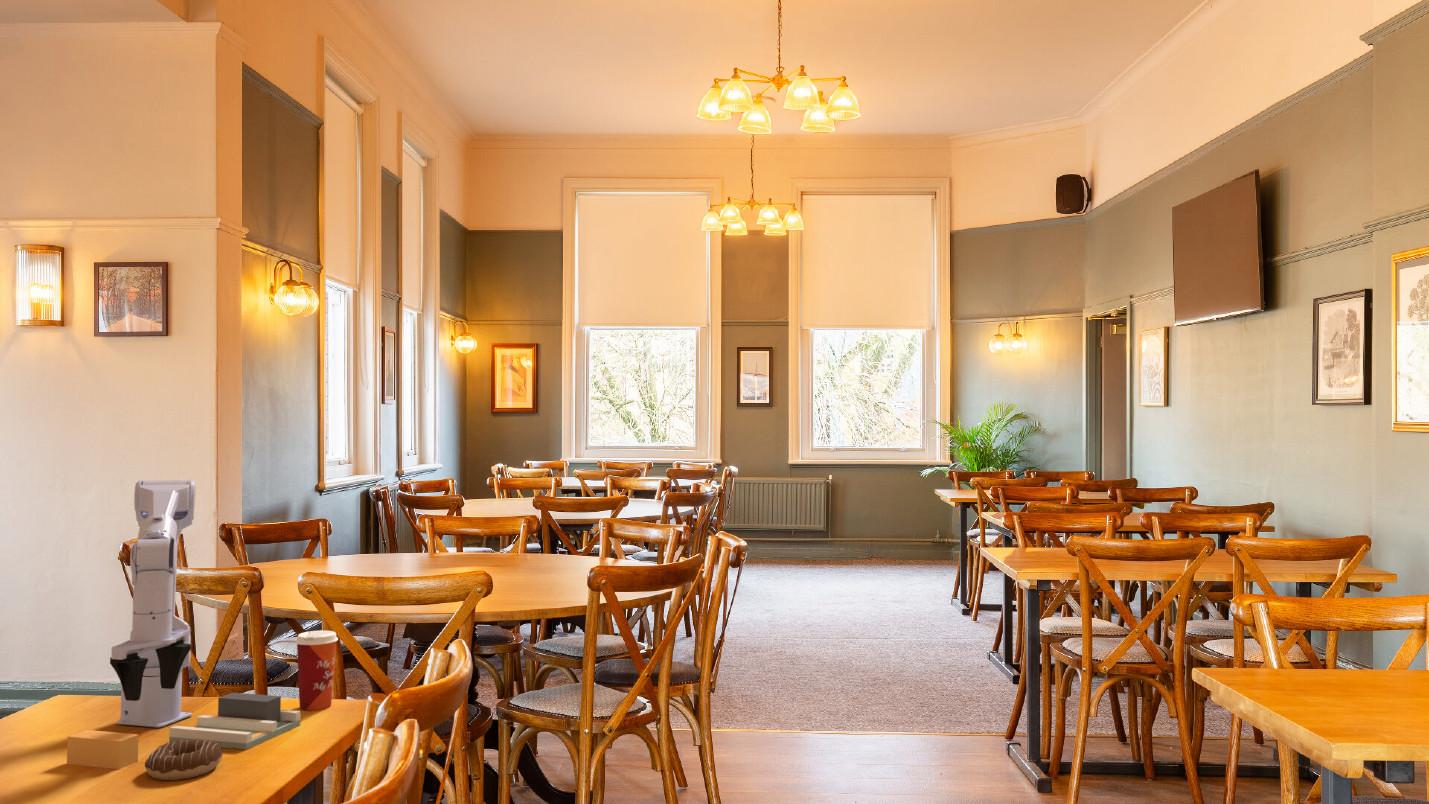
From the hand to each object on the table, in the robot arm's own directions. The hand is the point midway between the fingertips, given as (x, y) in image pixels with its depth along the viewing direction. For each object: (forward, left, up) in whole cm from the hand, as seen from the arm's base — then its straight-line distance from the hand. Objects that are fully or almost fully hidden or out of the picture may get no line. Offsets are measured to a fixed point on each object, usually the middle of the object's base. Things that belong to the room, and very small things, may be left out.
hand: (150, 694), depth 161 cm
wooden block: (-3, -6, -10) cm, 12 cm away
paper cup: (+10, +30, -10) cm, 33 cm away
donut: (+12, -6, -10) cm, 17 cm away
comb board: (+7, +12, -10) cm, 17 cm away
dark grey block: (+7, +15, -9) cm, 19 cm away
